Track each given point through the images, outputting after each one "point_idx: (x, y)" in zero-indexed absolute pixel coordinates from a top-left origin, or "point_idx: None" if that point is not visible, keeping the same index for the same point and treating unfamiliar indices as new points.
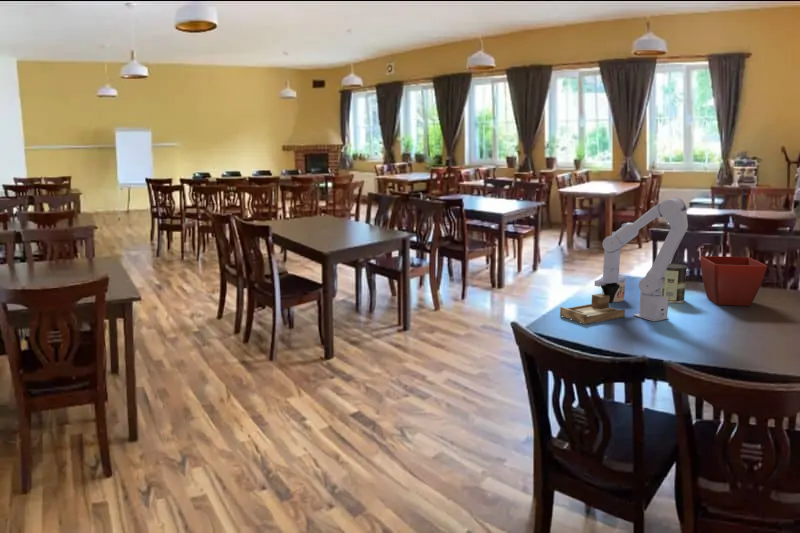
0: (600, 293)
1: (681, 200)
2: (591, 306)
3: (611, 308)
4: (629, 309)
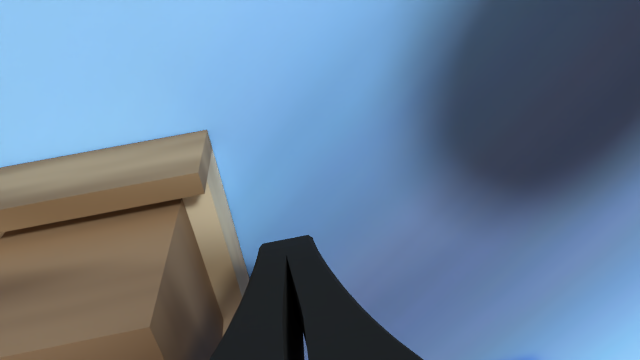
0: (146, 326)
1: None
2: (7, 233)
3: None
4: (515, 229)
